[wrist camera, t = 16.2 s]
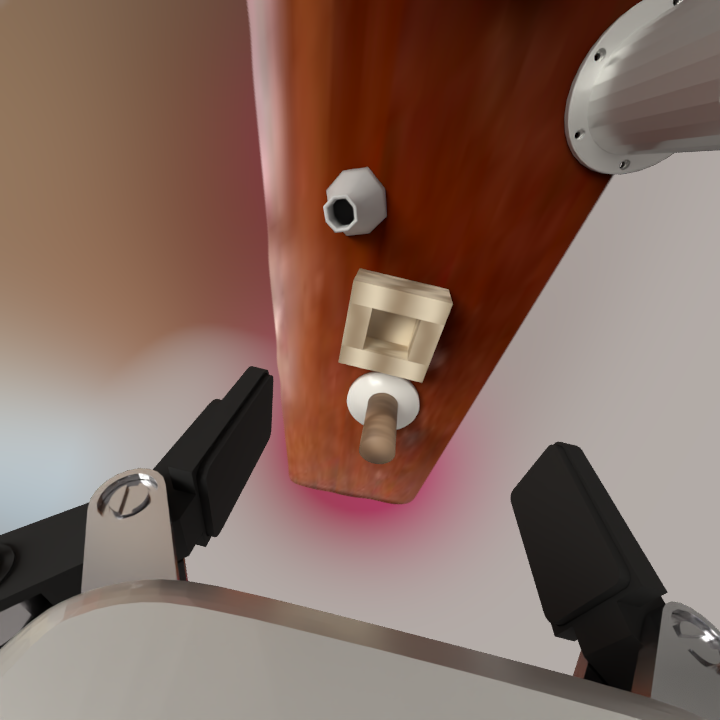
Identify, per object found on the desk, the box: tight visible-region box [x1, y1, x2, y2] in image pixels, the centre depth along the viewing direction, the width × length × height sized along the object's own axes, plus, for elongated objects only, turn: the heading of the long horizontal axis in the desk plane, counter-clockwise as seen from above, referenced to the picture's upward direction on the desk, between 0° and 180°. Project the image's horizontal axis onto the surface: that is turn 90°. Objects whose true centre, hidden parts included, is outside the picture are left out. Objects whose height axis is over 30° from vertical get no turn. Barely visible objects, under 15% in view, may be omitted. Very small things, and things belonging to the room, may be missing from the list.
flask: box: [323, 167, 387, 236], centre depth 32 cm, size 7×7×10 cm
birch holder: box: [339, 268, 453, 383], centre depth 41 cm, size 12×12×5 cm
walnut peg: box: [359, 393, 398, 464], centre depth 46 cm, size 5×5×10 cm
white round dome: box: [347, 371, 419, 429], centre depth 51 cm, size 12×12×1 cm
